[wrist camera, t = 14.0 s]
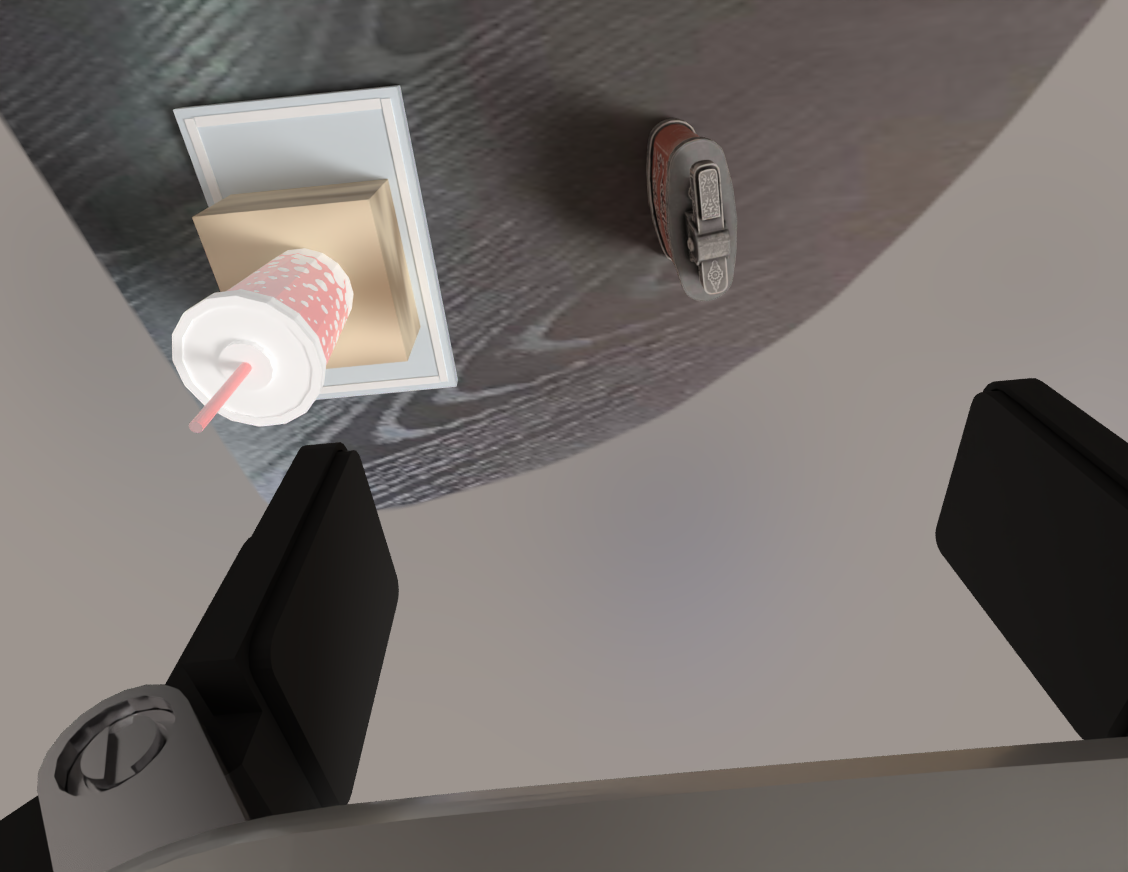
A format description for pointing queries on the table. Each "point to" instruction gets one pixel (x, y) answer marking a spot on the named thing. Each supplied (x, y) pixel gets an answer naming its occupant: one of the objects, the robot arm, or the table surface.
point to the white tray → (324, 157)
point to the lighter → (692, 207)
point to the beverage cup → (264, 340)
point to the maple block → (340, 231)
